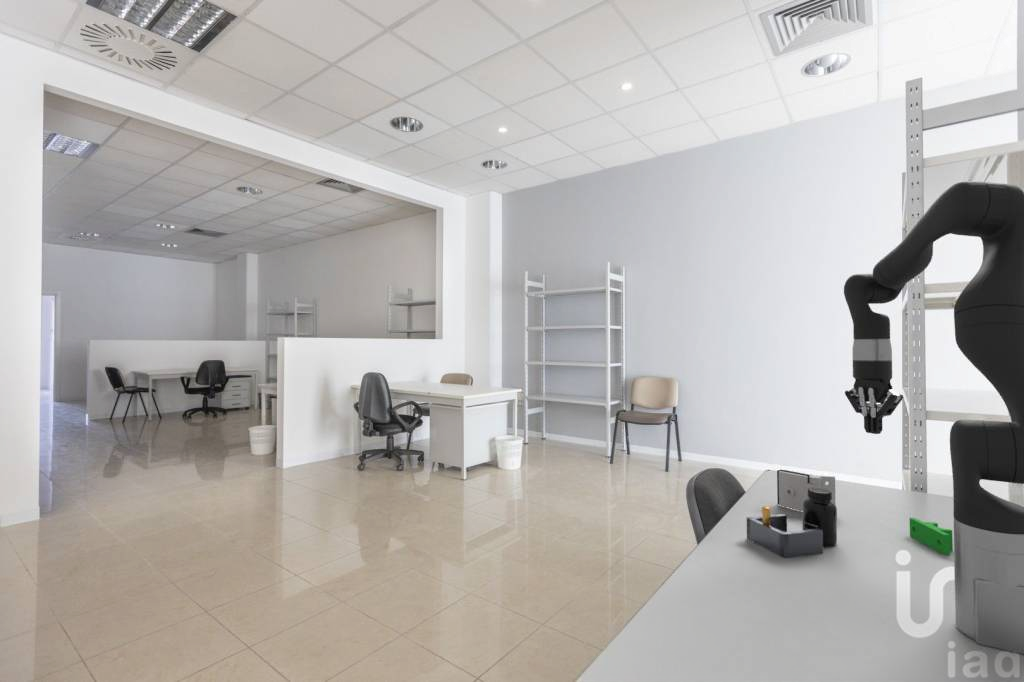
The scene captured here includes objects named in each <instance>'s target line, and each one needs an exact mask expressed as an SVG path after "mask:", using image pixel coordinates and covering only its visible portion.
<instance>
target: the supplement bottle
mask: <svg viewBox="0 0 1024 682" xmlns="http://www.w3.org/2000/svg"><path fill="white" fill-rule="evenodd" d="M807 496H808V497H809V498H808V499H806V500H804V502H803V512H802V530H809V529H821V530H823V548H824V547H825V548H826V547H829V548H830V547H834V546H836V545H837V541H838V535H837V534H838V533H837V532H838V507H837V505H836V506H835V504H836V503H835V504H834V503H832V502H831V500H832V492H831V491H830V490H828V489H824V488H817V487H810V488H808V494H807Z"/></svg>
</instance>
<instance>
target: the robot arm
mask: <svg viewBox="0 0 1024 682" xmlns="http://www.w3.org/2000/svg"><path fill="white" fill-rule="evenodd" d="M950 234H952V235H956V236H965V237H966V236H967V237H976V238H977V237H978V238H980V239H981V242H982V247H983V248H982V251H983V253H982V262H981V264H980V267H979V269H978V271H977V272H976V274H975V275H974V276H973V278H971V279H970V281H969V282H968V284H967V285H966V286H965V287H964V288H963V290H962V291H961V292H960V294H959V295H958V297H957V299H956V301H955V303H954V307H953V320H954V324H953V325H954V337H955V342H956V346H957V347H958V348H959V351H960V352H961V353H962V354H963V356H964V357H965V358H966V359H967V360H968V361H969V362H970V363H971V364H972V365H973V366H974V367H975V368H976V369H977V370H978V371H979V372H980V373H981V374H982V375H983V376H984V378H986V380H988V381H989V383H990V384H991V385H992V386H993V387H994V389H995V390H996V391H997V393H998V394H999V396H1000V397H1001V399H1002V400H1003V402H1004V404H1005V406H1006V408H1007V409H1006V410H1007V411H1008V414H1009V417H1010V421H1001V420H1000V421H997V420H980V419H958V420H956V421H955V422H953V424H952V425H951V429H950V430H949V432H950V433H949V452H950V460H951V461H950V462H951V463H950V464H951V470H952V471H951V472H952V489H953V490H952V491H953V495H952V496H953V498H952V499H953V557H954V560H953V562H954V563H953V564H954V565H953V568H954V570H953V571H954V602H955V603H954V606H955V607H954V608H955V609H954V610H955V612H954V613H955V626H956V625H957V626H956V628H957V627H958V628H959V629H958V628H957V629H958V630H959V631H960V632H961V631H962V632H961V633H962V634H964V635H966V636H967V637H969V638H971V639H972V640H974V641H975V643H977V644H979V645H982V646H987V647H991V648H996V649H1000V650H1006V651H1009V652H1014V653H1019V654H1023V655H1024V506H1022V505H1019V504H1017V503H1016V502H1015V503H1014V502H1012V501H1009V500H1007V499H1004V498H1001V497H999V496H997V495H995V494H993V493H991V492H989V491H988V490H986V489H985V488H984V487H982V485H981V484H980V481H981V480H982V481H983V480H984V481H994V482H1001V483H1002V482H1003V483H1012V484H1023V485H1024V191H1023V190H1022V188H1020V187H1019V186H1018V185H1015V184H1009V183H1004V182H1003V183H1002V182H989V181H988V182H987V181H977V180H975V181H973V180H965V181H964V180H963V181H958V182H956V183H953V184H951V185H950V186H949V187H948V188H946V189H945V190H944V191H943V192H942V193H941V194H939V196H938V197H937V198H936V199H935V201H933V202H932V204H931V205H930V207H928V209H927V210H926V212H925V213H924V214H923V215H922V216H921V217H920V218H919V220H918V221H917V222H916V224H915V225H914V226H913V228H912V229H911V230H910V231H909V233H908V234H907V235H906V236H905V237H904V239H902V241H901V242H900V243H899V244H898V245H897V246H896V247H895V248H893V249H892V250H891V251H890V252H888V254H886V255H885V256H884V257H882V259H880V260H879V261H878V262H877V263H876V264H875V265H874V266H873V269H872V273H855V274H852V275H850V276H849V277H848V278H847V279H846V280H845V283H844V285H843V295H844V300H845V302H846V304H847V307H848V310H849V313H850V316H851V319H852V324H853V328H852V329H853V344H852V377H853V379H854V380H855V381H854V383H853V388H851V389H849V390H845V391H844V394H845V396H846V398H847V399H848V400H847V401H849V403H850V405H851V407H852V408H853V410H854V411H855V413H857V414H861V415H862V417H863V423H864V424H863V428H864V430H865V433H867V434H871V435H872V434H873V435H880V434H881V433H882V432H883V419H884V417H888V416H892V414H893V413H894V411H895V410H896V409H897V407H898V406H899V404H900V403H901V402H902V400H903V399H904V396H903V394H901V393H899V394H898V393H897V392H896V391H894V390H893V386H892V384H891V380H892V379H893V347H892V344H891V321H890V317H889V316H888V315H887V314H884V313H879V312H875V311H873V310H872V308H871V306H870V305H869V304H872V305H874V304H875V305H877V304H878V305H879V304H887V303H889V302H892V301H894V300H896V299H897V298H898V297H899V295H900V294H901V293H902V291H903V289H904V288H905V286H906V285H907V283H909V282H910V281H911V280H913V279H914V278H916V277H917V276H919V275H921V273H923V272H924V271H925V270H926V269H927V268H928V266H929V265H930V263H931V261H932V259H933V255H934V243H935V242H936V241H937V240H939V239H941V238H942V237H943V238H944V236H947V235H950Z"/></svg>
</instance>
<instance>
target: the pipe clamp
mask: <svg viewBox="0 0 1024 682" xmlns="http://www.w3.org/2000/svg"><path fill="white" fill-rule="evenodd" d="M938 524H939V523H938V522H932V521H931V522H929V521H927V522H924V521H921V520H920V519H918V518H916V517H909V537H911V538H913V539H915V540H917V541H919V543H920V542H921V543H922V544H924V545H925V546H928V547H930V548H931V549H933V550H934V551H936V552H938V553H940V554H942V555H944V556H951V551H954V540H953V530H952V529H950V528H949V529H948V528H942V527H939V525H938Z"/></svg>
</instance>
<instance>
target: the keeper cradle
mask: <svg viewBox="0 0 1024 682" xmlns="http://www.w3.org/2000/svg"><path fill="white" fill-rule="evenodd" d="M761 509H762V511H761V514H762V515H760V516H747V517H746V539H747V540H748V539H749V540H748V541H750V540H751V541H750V542H752V541H753V542H752V543H754V544H756V545H757V546H759V547H762V548H764V549H766V550H767V551H769V552H771V553H773V554H775V555H777V556H779V557H781V558H783V559H787V558H795V557H796V558H797V557H798V558H799V557H805V556H806V557H807V556H812V555H813V556H814V555H820V554H824V546H823V530H821V529H809V530H803V529H802V530H793V531H788V523H787V522H788V520H787V519H788V517H787V514H784V513H779V514H778V513H777V514H771V507H770V506H765V505H764V506H761Z"/></svg>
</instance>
